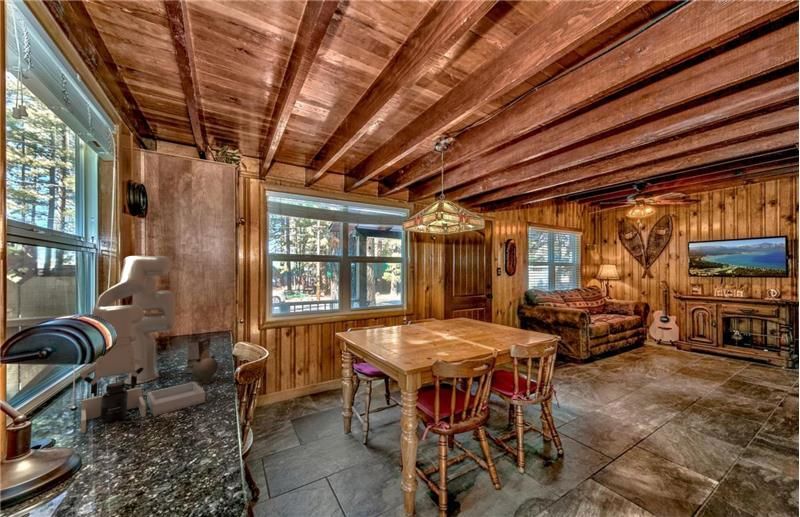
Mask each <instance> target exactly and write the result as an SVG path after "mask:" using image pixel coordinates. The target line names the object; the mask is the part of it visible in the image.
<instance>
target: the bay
mask: <svg viewBox="0 0 800 517" xmlns="http://www.w3.org/2000/svg"><path fill="white" fill-rule="evenodd" d="M126 390H127V392H128V398H127V411H128V410H132V409H135V408H139V409H138V410H139V413H140V415H141V417H142V418H144V417H146V414H147V412H146V411H147V404H146V402H145V400H144V398H143V395H142V394H143V388H142V387H136V388H135V387H134V388H131V389H126ZM102 396H103V395H100V396H93V397H90V398H84V399H82V400H81V416H80V418H81V419H80V434H84V433H86V430H87V429H86V428H87V427H86V426H87V420H93V419H95V418H100V417H99V416H100V415H101V399H102Z"/></svg>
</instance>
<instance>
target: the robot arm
mask: <svg viewBox="0 0 800 517" xmlns="http://www.w3.org/2000/svg"><path fill="white" fill-rule="evenodd" d="M171 269H172V260H171V258H170V257H169V256H165V255H162V256H161V255H129V256H126V257H125V258H123V266H122V269H121V273H120V277H119V279H118V282H117V283H116V284H114V285H112V286H111V287H110V288H108V289H106V290H105V291H104V292H102V293H101V294H100V295H99V296H98V298H97V299H96V301H95V304H94V307H93V310H92V313H91V316H92V315H95V316H98V317H100V318H102V319H104V320H106V321H107V322H109V323H110V324H111V325H112V326H113V327H114V329H115V331H116V334H117V341H116V344H115V345H114V347H113V348H112V349H111V350H110V351H109V352H108V353H107V354H106V355H105V356H103V357H101V358H100V359H98V360H97V361H96V360H95V364H94V365H91V367H89V368H87V369H85V370H82V371H81V372H80V373H79V375H80V377H81V378H82V380H84V382H86V383H88V384H90V394H91V395H92V394H93V397H97V395H98V381H99V380H101V378H108V377H113V376H118V375H124V374H128V377H126V378H125V379H124V381H123V382H124V383H125V385H130V388H131V389H135V386H136V385H138V384H143V383H144V382H145V383H148V381H149V382H151V380H152V381H154V379H155V380H157V379H158V378H159V377H160V373H157V372H156V349H157V348H156V347H157V340H156V339H155V337H153V336H152V333H153V334H154V333H161V332H162V333H163V332H170V331H172V330H173V329H174V327H175V318H176V317H175V315H176V311H175V310H176V306H175V305H176V300H175V299H176V297H175V294H174V292H173V291H171V290H166V289H165V290H163V289H162V290H157V280H156V278H155V277H157V276H158V277H160V276H161V277H162V276H166V275H167V274H169V273H170V271H171ZM154 276H155V277H154ZM131 296H132V304H124V305H123V304H120V305H117V304H116V305H111V304H113V303H114V302H117V301H119V300H122V299H125V298H128V297H131ZM145 311H162V312H145ZM91 372H94V375H95V376H93V378H92V377H90V376H89V375H88V374H90V373H91ZM156 378H157V379H156ZM145 383H144V384H145Z"/></svg>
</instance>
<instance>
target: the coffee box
mask: <svg viewBox="0 0 800 517" xmlns="http://www.w3.org/2000/svg"><path fill="white" fill-rule="evenodd" d="M187 343H188V345H187V364H186V365H187V368H186V369H187V370H186V372H187V373H192V368H193V366H194V364H195V363H196V362H197V359H202V358H210V357H211V355H210V354H211V353H210V352H211V338H210V337H205V338H203V337H202V338H196V339H193V340H190V341H188V342H187ZM187 373H186V374H187Z"/></svg>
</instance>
